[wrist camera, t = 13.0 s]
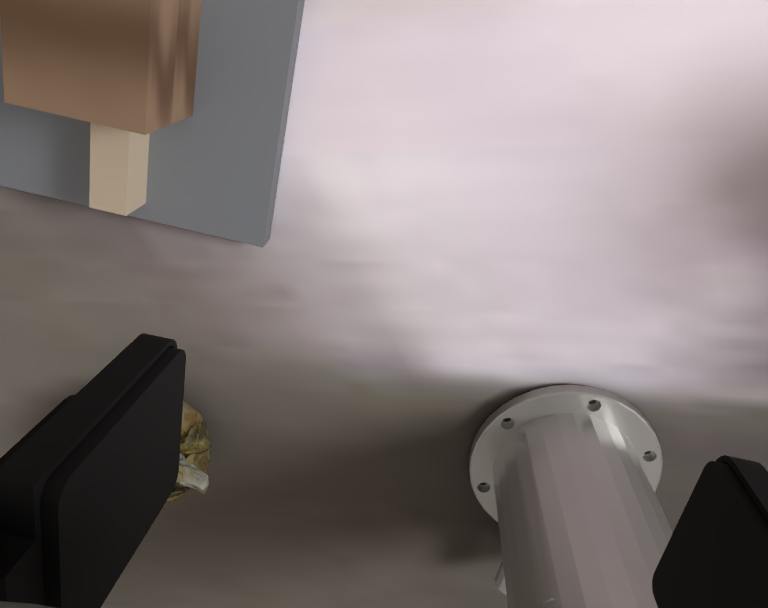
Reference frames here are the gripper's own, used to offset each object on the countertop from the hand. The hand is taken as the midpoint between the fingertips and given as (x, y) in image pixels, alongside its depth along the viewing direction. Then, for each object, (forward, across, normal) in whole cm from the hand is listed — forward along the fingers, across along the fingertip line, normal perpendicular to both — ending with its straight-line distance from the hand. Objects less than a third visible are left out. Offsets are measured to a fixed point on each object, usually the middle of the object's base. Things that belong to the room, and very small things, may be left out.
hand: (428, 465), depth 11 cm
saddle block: (+24, +17, -4) cm, 30 cm away
